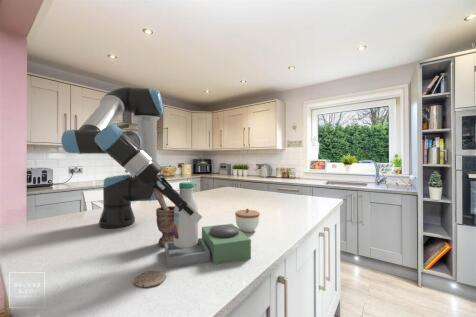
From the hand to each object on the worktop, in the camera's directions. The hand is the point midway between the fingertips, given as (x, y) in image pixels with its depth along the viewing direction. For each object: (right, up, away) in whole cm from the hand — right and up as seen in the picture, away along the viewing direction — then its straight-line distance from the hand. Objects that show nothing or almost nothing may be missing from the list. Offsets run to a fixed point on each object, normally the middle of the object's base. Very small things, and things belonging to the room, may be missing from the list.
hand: (196, 216), depth 74 cm
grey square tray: (-3, -12, -1) cm, 13 cm away
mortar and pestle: (-14, -13, +10) cm, 21 cm away
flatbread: (-9, -13, -15) cm, 22 cm away
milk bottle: (-3, -9, -1) cm, 9 cm away
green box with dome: (+9, -12, +3) cm, 16 cm away
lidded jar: (+18, -13, +25) cm, 33 cm away
